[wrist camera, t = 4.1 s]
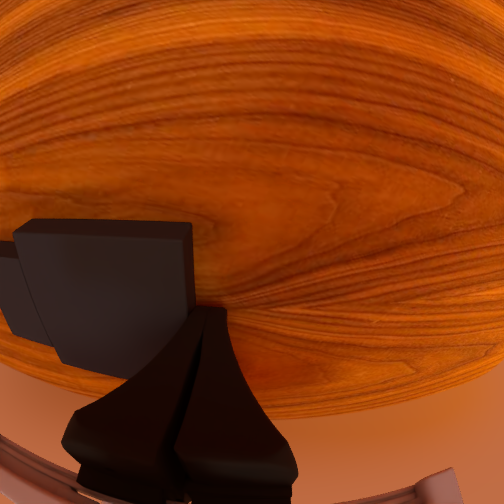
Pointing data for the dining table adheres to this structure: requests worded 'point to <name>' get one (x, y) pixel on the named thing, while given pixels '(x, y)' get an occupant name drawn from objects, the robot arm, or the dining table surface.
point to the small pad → (98, 289)
